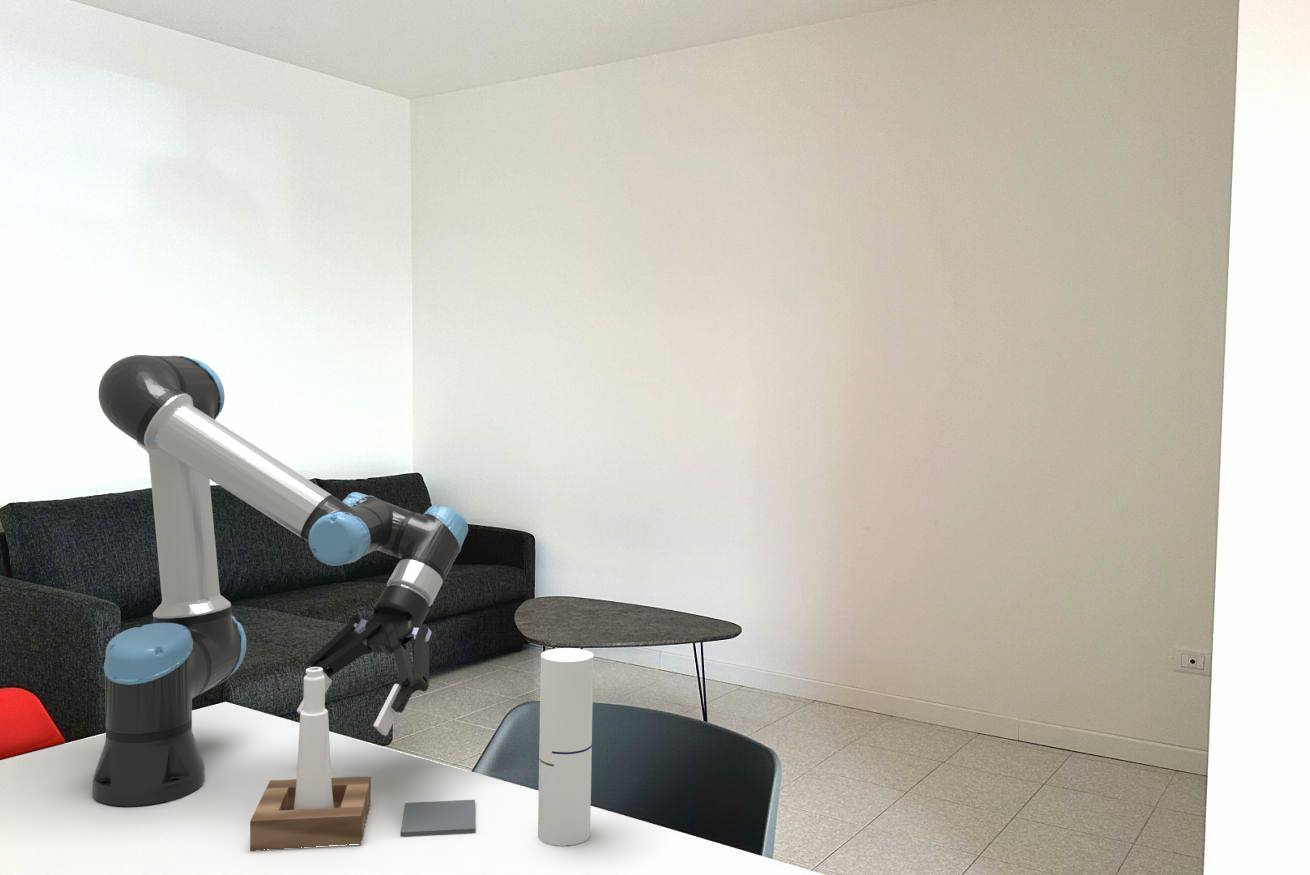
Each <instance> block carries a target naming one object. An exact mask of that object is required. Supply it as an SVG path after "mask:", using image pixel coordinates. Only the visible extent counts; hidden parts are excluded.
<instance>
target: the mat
mask: <svg viewBox="0 0 1310 875" xmlns="http://www.w3.org/2000/svg"><path fill="white" fill-rule="evenodd" d="M456 834H458V835H460V834H476V799H458V800H457V799H456V800H439V801H438V800H435V801H416V802H414V801H413V802H405V803H404V807H403V814H402V821H401V827H400V836H404V837H421V836H436V835H439V836H440V835H442V836H443V835H456ZM400 836H399V837H400Z"/></svg>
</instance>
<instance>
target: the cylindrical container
mask: <svg viewBox="0 0 1310 875" xmlns="http://www.w3.org/2000/svg"><path fill="white" fill-rule="evenodd" d="M539 678H540V680H539V681H540V682H539V683H540V684H539V685H540V686H539V687H540V688H539V692H540V693H539V696H540V697H539V743H538V744H539V746H538V747H539V749H538V750H539V751H538V752H539V753H538V756H539V757H538V804H537V806H538V808H537V809H538V810H537V812H538V815H537V816H538V817H537V819H538V820H537V838H538V839H539V840H540V841H541V842H543V843H545V844H547V845H550V846H556V847H557V845H558V847H567V846H566V845H571V846H574V845H575V844H576V845H579V844H582V843H584V842H586V841H587V840H588V839H589V838H590V837H589V836H591V810H592V809H591V808H592V807H591V806H592V800H591V799H592V796H591V794H592V750H593V748H592V747H593V746H592V745H593V744H592V742H593V709H594V708H593V703H594V702H593V701H594V700H593V699H594V696H593V695H594V694H593V693H594V692H593V691H594V652H592V651H590V650H587V649H582V648H576V647H575V648H574V647H562V648H561V647H560V648H552V649H548V650H545V651H543V652H541V654H540V677H539Z"/></svg>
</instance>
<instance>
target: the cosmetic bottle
mask: <svg viewBox="0 0 1310 875" xmlns="http://www.w3.org/2000/svg"><path fill="white" fill-rule="evenodd" d="M322 672H323V668H320V667H311V666H310V667H308V668H306V669H305V674H306V675H304V677H303V699H304V710H302V711H301V713H300V714H299V715H300V716H299V717H300V718H299V730H298V749H297V750H298V751H297V766H296V768H297V769H296V779H297V782H296V794H295V803H294V810H301V809H323V808H334V803H333V795H332V783H331V778H332V772H331V770H332V768H331V752H330V751H331V746H330V745H331V744H330V743H331V742H330V726H329V724H330V723H329V711H328V709H327V708H326V706H325V703H326V702H325V701H326V693H325V676H324V675H323V674H322Z"/></svg>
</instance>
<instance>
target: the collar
mask: <svg viewBox="0 0 1310 875" xmlns="http://www.w3.org/2000/svg"><path fill="white" fill-rule="evenodd" d="M296 782H297V778H296V779H295V778H294V779H271V780H269V782H268V784H267V785H266V788H265V790H264V792H263V793H262V796H261V799H260V800H259V802H258V804H257V806H256V808H255V810H254V813H253V814H252V816H251V818H250V820H249V851H250V852H253V851H254V852H256V850H260V851H268V850H267V849H279V850H285V849H284V848H298V849H305V848H304V847H316V846H329V845H346V844H347V845H349V844H361V845H362V842H363V838H364V834H363V833H365V830H364V829H366V825H367V821H368V817H367V816H369V812H368V811H370V808H371V807H370V806H371V804H370V803H371V802H372V801H371V798H372V796H371V795H372V776H371V775H367V776H366V775H365V776H364V775H363V776H342V777H341V776H339V777H331V783H332V795H333V803H334V808H323V809H301V810H294V803H295V794H296ZM369 807H370V808H369ZM366 820H367V821H366ZM365 824H366V825H365ZM362 837H363V838H362ZM361 841H362V842H361ZM301 847H302V848H301ZM264 849H265V850H264Z"/></svg>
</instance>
